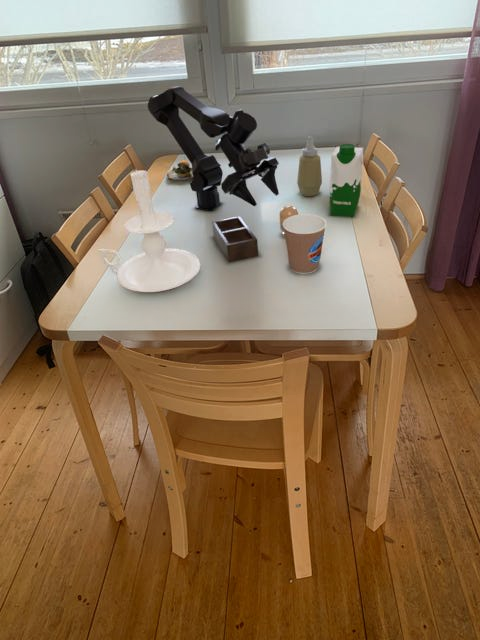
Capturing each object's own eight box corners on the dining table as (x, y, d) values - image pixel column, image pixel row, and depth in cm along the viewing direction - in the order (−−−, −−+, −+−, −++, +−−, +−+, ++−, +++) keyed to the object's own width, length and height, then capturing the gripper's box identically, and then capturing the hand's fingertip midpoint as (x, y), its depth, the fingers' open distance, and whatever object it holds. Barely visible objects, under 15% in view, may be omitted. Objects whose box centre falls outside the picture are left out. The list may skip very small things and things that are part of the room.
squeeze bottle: (294, 196, 154) (293, 140, 143) (300, 187, 160) (301, 132, 149) (318, 199, 151) (319, 141, 141) (324, 189, 157) (326, 133, 146)
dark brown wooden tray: (228, 262, 123) (226, 245, 120) (213, 237, 135) (211, 221, 132) (258, 256, 124) (257, 239, 121) (241, 232, 136) (239, 216, 133)
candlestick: (120, 258, 129) (93, 155, 112) (208, 259, 125) (195, 152, 108) (90, 301, 112) (54, 188, 96) (191, 303, 109) (172, 186, 92)
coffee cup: (314, 281, 112) (315, 236, 105) (276, 272, 117) (274, 228, 110) (331, 262, 119) (333, 218, 112) (294, 253, 124) (294, 211, 117)
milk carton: (326, 216, 140) (329, 148, 129) (332, 204, 147) (335, 138, 135) (356, 218, 138) (362, 149, 126) (360, 206, 145) (366, 139, 133)
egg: (280, 239, 131) (279, 210, 126) (279, 231, 135) (278, 203, 130) (299, 238, 130) (299, 209, 125) (297, 230, 135) (297, 201, 129)
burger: (161, 178, 177) (157, 158, 173) (186, 169, 183) (183, 150, 179) (180, 185, 170) (177, 165, 165) (205, 176, 176) (203, 156, 171)
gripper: (224, 144, 121) (258, 196, 121) (273, 127, 131) (304, 174, 131) (207, 169, 130) (238, 216, 130) (254, 151, 140) (282, 195, 140)
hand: (266, 200), depth 132 cm, fingers open, 9 cm apart
